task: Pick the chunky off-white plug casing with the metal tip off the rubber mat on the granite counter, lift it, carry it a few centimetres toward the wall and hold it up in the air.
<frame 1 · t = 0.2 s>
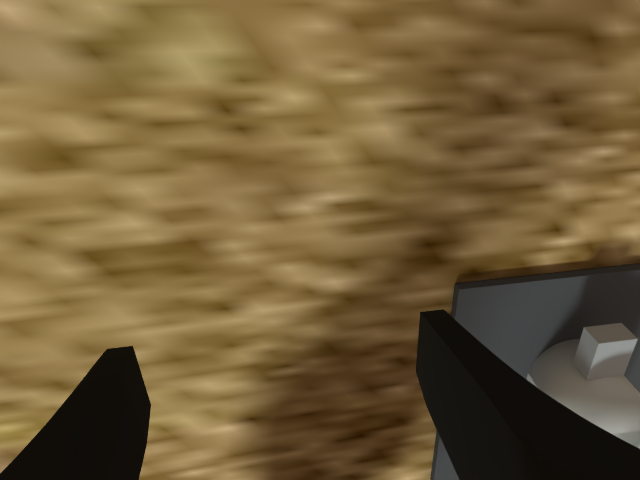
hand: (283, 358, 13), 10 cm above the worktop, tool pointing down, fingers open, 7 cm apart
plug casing: (555, 398, 30), resting on rubber mat
rubber mat: (551, 392, 30), on the worktop
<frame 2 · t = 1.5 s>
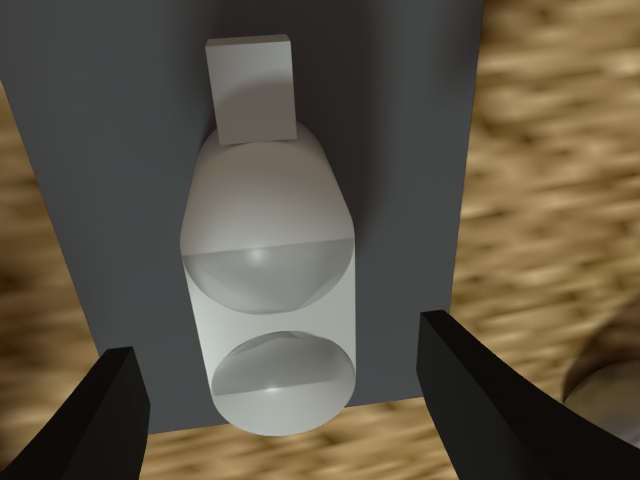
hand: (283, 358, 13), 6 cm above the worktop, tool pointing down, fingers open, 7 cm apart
plastic bottle: (602, 388, 25), on the worktop
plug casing: (270, 242, 18), resting on rubber mat
rubber mat: (269, 235, 18), on the worktop
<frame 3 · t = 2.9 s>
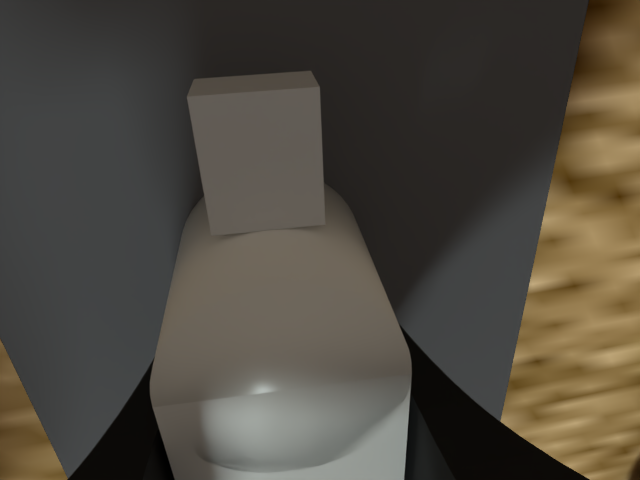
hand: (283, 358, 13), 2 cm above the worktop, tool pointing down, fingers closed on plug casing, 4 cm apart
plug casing: (280, 330, 14), resting on rubber mat, touching gripper
rubber mat: (279, 318, 14), on the worktop
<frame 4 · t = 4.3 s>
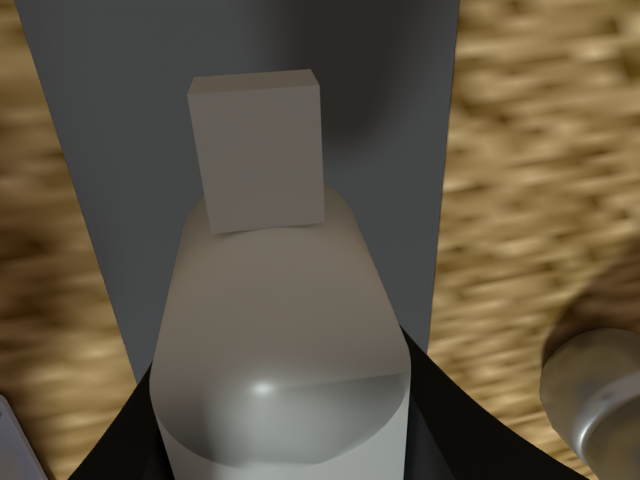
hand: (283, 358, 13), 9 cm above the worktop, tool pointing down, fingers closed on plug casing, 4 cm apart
plastic bottle: (579, 356, 27), on the worktop
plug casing: (280, 328, 14), point 8 cm above the worktop, touching gripper
rubber mat: (269, 206, 20), on the worktop
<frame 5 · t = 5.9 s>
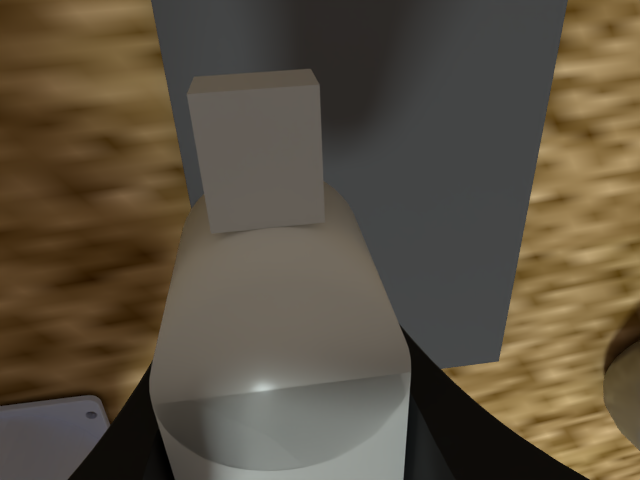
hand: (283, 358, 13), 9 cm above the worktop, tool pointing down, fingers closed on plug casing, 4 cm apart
plastic bottle: (639, 358, 28), on the worktop
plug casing: (280, 328, 14), point 8 cm above the worktop, touching gripper
rubber mat: (365, 217, 21), on the worktop
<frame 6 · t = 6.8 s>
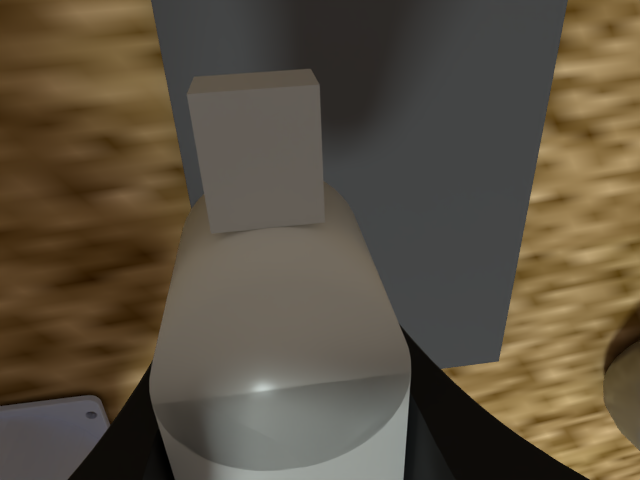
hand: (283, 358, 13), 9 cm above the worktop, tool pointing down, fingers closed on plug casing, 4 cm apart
plastic bottle: (639, 358, 28), on the worktop
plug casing: (280, 328, 14), point 8 cm above the worktop, touching gripper
rubber mat: (365, 217, 21), on the worktop
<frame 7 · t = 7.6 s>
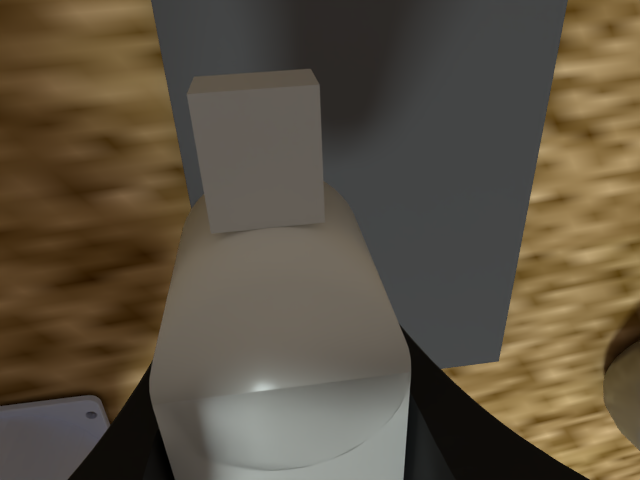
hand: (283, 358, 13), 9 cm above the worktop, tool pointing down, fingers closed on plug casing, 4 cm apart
plastic bottle: (639, 358, 28), on the worktop
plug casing: (280, 328, 14), point 8 cm above the worktop, touching gripper
rubber mat: (365, 217, 21), on the worktop
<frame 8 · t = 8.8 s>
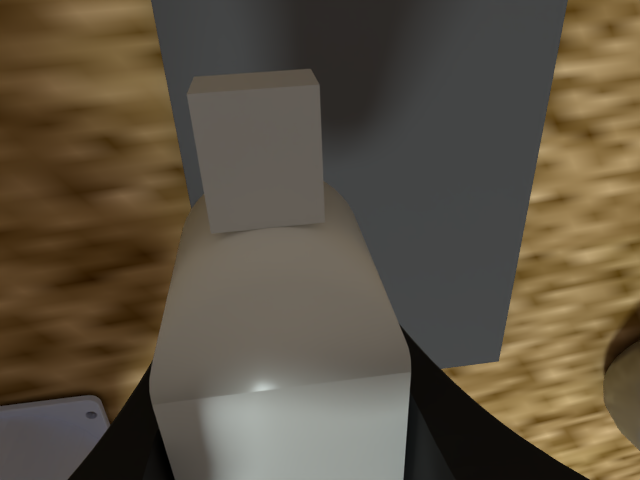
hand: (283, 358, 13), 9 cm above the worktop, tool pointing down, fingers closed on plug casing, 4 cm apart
plastic bottle: (639, 358, 28), on the worktop
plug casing: (280, 328, 14), point 8 cm above the worktop, touching gripper
rubber mat: (365, 217, 21), on the worktop
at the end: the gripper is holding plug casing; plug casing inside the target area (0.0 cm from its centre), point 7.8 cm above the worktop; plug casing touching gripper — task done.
